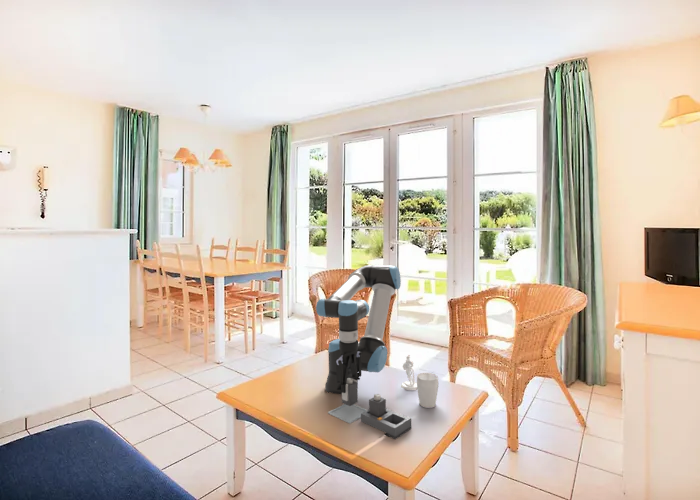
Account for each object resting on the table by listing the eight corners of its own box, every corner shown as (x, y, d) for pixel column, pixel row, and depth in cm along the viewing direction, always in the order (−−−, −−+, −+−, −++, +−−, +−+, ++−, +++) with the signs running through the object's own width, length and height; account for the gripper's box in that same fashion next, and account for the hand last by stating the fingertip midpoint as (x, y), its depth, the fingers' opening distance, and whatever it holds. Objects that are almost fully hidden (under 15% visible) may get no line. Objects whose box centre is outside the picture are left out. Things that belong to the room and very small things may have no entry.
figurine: (400, 382, 182) (399, 352, 181) (418, 382, 181) (418, 352, 181) (402, 390, 173) (401, 358, 172) (421, 390, 172) (421, 358, 172)
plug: (341, 402, 150) (341, 379, 149) (349, 398, 153) (349, 376, 152) (350, 406, 146) (349, 382, 146) (357, 402, 150) (357, 378, 149)
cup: (438, 410, 153) (438, 381, 152) (416, 408, 155) (416, 379, 154) (438, 400, 162) (438, 373, 161) (416, 399, 163) (416, 371, 163)
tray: (327, 415, 149) (327, 412, 149) (348, 405, 158) (348, 402, 158) (349, 426, 141) (349, 422, 141) (370, 414, 150) (370, 411, 149)
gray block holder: (361, 423, 142) (360, 396, 142) (377, 414, 150) (377, 388, 149) (395, 439, 131) (395, 410, 131) (411, 428, 139) (411, 400, 138)
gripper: (339, 347, 139) (341, 408, 141) (370, 336, 152) (371, 392, 153) (325, 343, 144) (327, 402, 146) (356, 333, 157) (357, 387, 158)
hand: (349, 397), depth 149 cm, fingers closed on plug, 4 cm apart
